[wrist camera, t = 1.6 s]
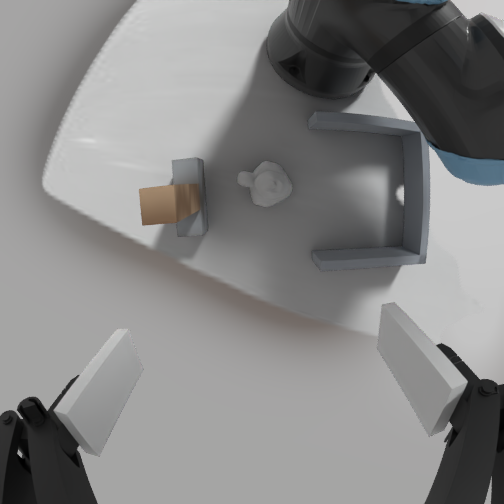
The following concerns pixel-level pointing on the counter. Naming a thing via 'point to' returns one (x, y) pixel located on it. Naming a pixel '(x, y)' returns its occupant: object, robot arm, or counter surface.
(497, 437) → the robot arm
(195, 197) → the scraper
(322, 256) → the box
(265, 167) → the rubber duck
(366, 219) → the counter surface
